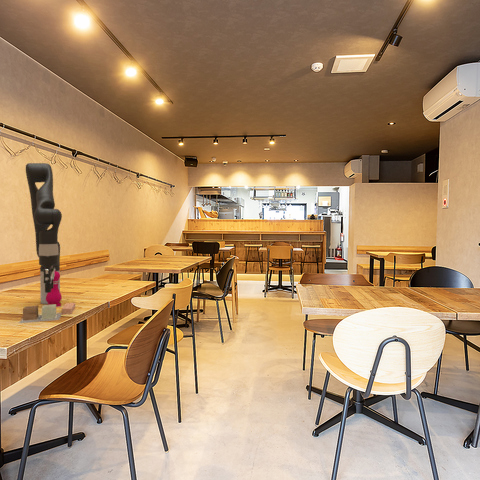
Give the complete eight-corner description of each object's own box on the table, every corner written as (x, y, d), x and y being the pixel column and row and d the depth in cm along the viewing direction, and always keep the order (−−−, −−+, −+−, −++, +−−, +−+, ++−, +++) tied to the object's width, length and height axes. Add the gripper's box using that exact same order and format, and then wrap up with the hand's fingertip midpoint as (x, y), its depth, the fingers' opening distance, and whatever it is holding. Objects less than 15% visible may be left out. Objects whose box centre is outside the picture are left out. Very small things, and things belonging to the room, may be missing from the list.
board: (24, 318, 152) (24, 315, 152) (62, 315, 157) (62, 312, 157) (18, 326, 140) (18, 323, 140) (59, 322, 146) (59, 319, 146)
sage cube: (43, 316, 151) (43, 305, 151) (56, 315, 153) (56, 304, 153) (41, 319, 147) (41, 307, 147) (54, 317, 149) (54, 306, 149)
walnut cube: (25, 317, 149) (25, 306, 148) (38, 316, 151) (38, 305, 150) (23, 320, 144) (22, 309, 144) (36, 319, 146) (36, 308, 146)
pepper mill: (50, 305, 177) (49, 267, 176) (64, 305, 178) (63, 267, 177) (43, 308, 170) (42, 269, 169) (58, 308, 170) (57, 269, 169)
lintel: (66, 311, 166) (66, 303, 166) (75, 310, 167) (75, 302, 167) (61, 317, 155) (61, 309, 155) (71, 317, 156) (71, 308, 156)
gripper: (41, 252, 154) (42, 288, 155) (36, 255, 141) (37, 294, 142) (60, 252, 157) (60, 287, 158) (56, 255, 144) (57, 293, 145)
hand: (49, 290), depth 150 cm, fingers open, 8 cm apart
